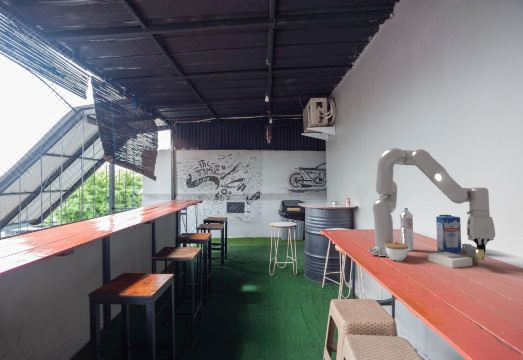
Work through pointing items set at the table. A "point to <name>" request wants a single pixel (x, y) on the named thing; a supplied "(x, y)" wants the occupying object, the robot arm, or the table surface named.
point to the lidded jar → (397, 251)
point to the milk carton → (448, 234)
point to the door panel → (450, 259)
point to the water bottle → (407, 229)
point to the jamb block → (474, 260)
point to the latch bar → (473, 251)
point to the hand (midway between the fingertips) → (481, 252)
